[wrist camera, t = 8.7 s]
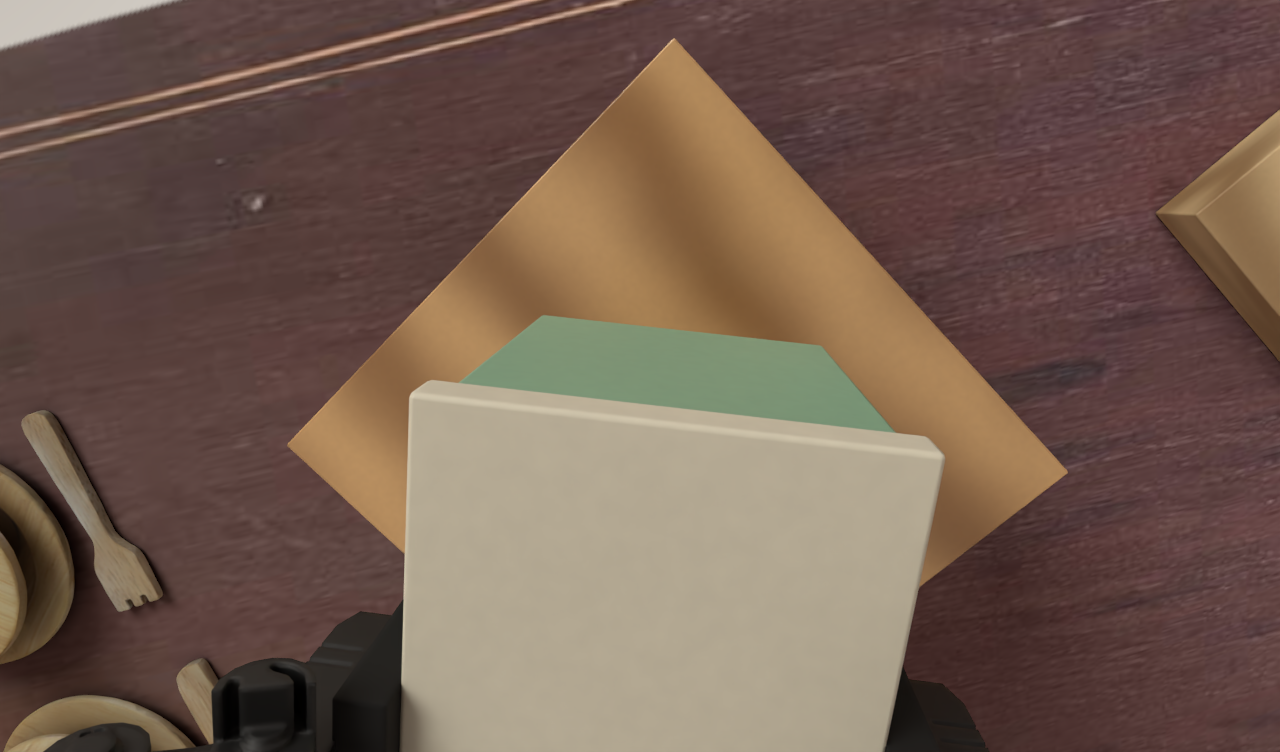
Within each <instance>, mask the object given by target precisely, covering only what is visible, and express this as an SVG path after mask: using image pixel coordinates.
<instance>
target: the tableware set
mask: <svg viewBox="0 0 1280 752" xmlns="http://www.w3.org/2000/svg"><path fill="white" fill-rule="evenodd" d="M21 425H22V429H23V431H24V434H25V435H26V437H27V438H28V440H29V442H30V443H31V445H32V447H33V448H34V450H35V451H36V453H37V455H38V456H39V458H40V459H41V461H42V463H43V464H44V466H45V467H46V469H47V471H48V472H49V474H50V476H51V477H52V479H53V481H54V482H55V484H56V485H57V487H58V488H59V490H60V491H61V493H62V494H63V496H64V498H65V499H66V501H67V502H68V504H69V505H70V507H71V508H72V510H73V512H74V513H75V515H76V516H77V518H78V519H79V521H80V523H81V524H82V525H83V527H84V528H85V530H86V531H87V533H88V534H89V536H90V537H91V539H92V541H93V545H94V549H95V558H94V568H95V572H96V574H97V576H98V578H99V580H100V582H101V584H102V586H103V587H104V589H105V591H106V593H107V595H108V596H109V598H110V599H111V601H112V603H113V604H114V606H115V607H116V609H117V611H118V612H121V611H124V610H128V609H130V608H131V607H132V606H133V604H134V605H135V606H140V605H143V604H144V603H146V601H147V599H146V597H145V595H146V596H147V598H148V600H149V601H150V602H152V601H155V600H158V599H159V598H161V597H162V596H163V592H162V590H161V588H160V585H159V583H158V581H157V580H156V578H155V576H154V574H153V572H152V570H151V568H150V566H149V564H148V562H147V560H146V558H145V556H144V554H143V553H142V552H141V551H140V549H138V548H137V547H136V546H134V545H132V544H130V543H129V542H127V541H126V540H124V539H123V538H121V537H120V536H119V535H118V534H117V532H116V531H115V530H114V528H113V526H112V524H111V522H110V520H109V518H108V516H107V514H106V512H105V510H104V508H103V505H102V503H101V502H100V500H99V498H98V496H97V494H96V492H95V490H94V489H93V487H92V485H91V483H90V481H89V479H88V477H87V475H86V473H85V471H84V469H83V467H82V465H81V463H80V461H79V459H78V457H77V456H76V454H75V452H74V450H73V448H72V446H71V444H70V443H69V441H68V439H67V437H66V435H65V433H64V432H63V430H62V428H61V426H60V424H59V422H58V421H57V419H56V418H55V417H54V415H53V414H52V413H50V412H48V411H45V410H41V411H37V412H34V413H32V414H29V415H27V416H26V417H25V418H24V419H23V420H22V423H21ZM74 586H75V581H74V566H73V561H72V556H71V551H70V548H69V544H68V541H67V539H66V536H65V534H64V532H63V530H62V528H61V526H60V524H59V523H58V521H57V519H56V518H55V516H54V515H53V513H52V512H51V511H50V509H49V508H48V507H47V505H46V504H45V502H44V501H43V500H42V499H41V498H40V497H39V495H38V494H37V493H36V492H35V491H34V490H33V489H32V488H31V487H30V486H29V485H28V484H27V483H26V482H24V481H23V480H22V479H21V478H20V477H18V476H17V475H16V474H15V473H13V472H12V471H11V470H9V469H7V468H6V467H4V466H2V465H0V664H3V663H7V662H11V661H14V660H17V659H21V658H23V657H25V656H27V655H29V654H31V653H33V652H34V651H36V650H38V649H39V648H41V647H42V646H43V645H45V644H46V643H47V642H48V641H49V640H50V639H51V638H52V637H53V636H54V635H55V634H56V632H57V631H58V630H59V629H60V627H61V626H62V624H63V623H64V621H65V619H66V617H67V615H68V612H69V610H70V607H71V604H72V600H73V596H74ZM131 600H132V601H131ZM132 602H133V604H132ZM218 681H219V680H218V679H217V677H216V675H215V673H214V672H213V670H212V669H211V667H210V665H209V663H208V662H207V661H206V660H205V659H204V658H200V659H197V660H194V661H192V662H190V663H189V664H187V665H186V666H185V667H184V668H183V669H182V670H181V671H180V672H179V674H178V676H177V684H178V688H179V690H180V693H181V695H182V697H183V699H184V701H185V703H186V705H187V707H188V708H189V710H190V712H191V714H192V716H193V717H194V719H195V721H196V722H197V724H198V726H199V727H200V729H201V731H202V732H203V734H204V736H205V737H206V739H207V741H208V743H209V744H213V723H212V699H211V691H212V689H213V688H214V687H215V685H216V684H217V682H218ZM121 722H124V723H128V724H133V725H138V726H140V727H142V728H143V729H144V730H145V731H147V732H148V733H149V735H150V742H151V752H154V751H163V750H173V749H183V748H192V747H196V746H195V745H194V744H193V743H192V742H191V741H190V740H189V739H188V737H187V736H185V735H184V734H183V733H182V732H181V731H180V730H179V729H177V728H176V727H175V726H174V725H172V724H171V723H170V722H169V721H167V720H166V719H164V718H163V717H161V716H160V715H158V714H156V713H154V712H152V711H150V710H148V709H146V708H144V707H142V706H140V705H138V704H135V703H131V702H128V701H125V700H121V699H118V698H113V697H106V696H96V695H80V696H73V697H67V698H64V699H60V700H57V701H54V702H51V703H49V704H47V705H45V706H43V707H41V708H39V709H38V710H36V711H35V712H33V713H32V714H30V715H29V716H28V717H27V718H25V719H24V720H23V721H22V722H21V723H20V724H19V725H18V727H17V728H16V729H15V730H14V732H13V733H12V735H11V736H10V738H9V740H8V742H7V744H6V746H5V749H4V752H43V751H45V750H46V749H47V748H49V747H50V746H51V745H53V744H54V743H55V742H56V741H58V740H60V739H62V738H64V737H66V736H68V735H70V734H72V733H74V732H76V731H78V730H81V729H85V728H89V727H92V726H96V725H100V724H107V723H121Z"/></svg>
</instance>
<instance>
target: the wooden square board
mask: <svg viewBox="0 0 1280 752" xmlns="http://www.w3.org/2000/svg"><path fill="white" fill-rule="evenodd" d="M1156 215H1157V216H1158V217H1159V218H1160V219H1161V221H1162V222H1163V223H1164V224H1165V225H1166V227H1167V228H1168V229H1169V230H1170V231H1171V233H1172V234H1173V235H1174V236H1175V237H1176V239H1177V240H1178V241H1179V242H1180V243H1181V245H1182V246H1183V247H1184V248H1185V249H1186V250H1187V252H1188V253H1189V254H1190V255H1191V256H1192V258H1193V259H1194V260H1195V261H1196V262H1197V264H1198V265H1199V266H1200V267H1201V268H1202V270H1203V271H1204V272H1205V273H1206V274H1207V276H1208V277H1209V278H1210V279H1211V280H1212V282H1213V283H1214V284H1215V285H1216V286H1217V287H1218V289H1219V290H1220V291H1221V292H1222V293H1223V295H1224V296H1225V297H1226V298H1227V299H1228V301H1229V302H1230V303H1231V304H1232V305H1233V307H1234V308H1235V309H1236V310H1237V311H1238V313H1239V314H1240V315H1241V316H1242V317H1243V319H1244V320H1245V321H1246V322H1247V323H1248V325H1249V326H1250V327H1251V328H1252V329H1253V330H1254V332H1255V333H1256V334H1257V335H1258V336H1259V338H1260V339H1261V340H1262V341H1263V342H1264V344H1265V345H1266V346H1267V347H1268V348H1269V350H1270V351H1271V352H1272V353H1273V354H1274V356H1275V357H1276V358H1277V359H1278V360H1279V362H1280V110H1279V111H1277V112H1276V113H1275V114H1274V115H1273V116H1271V117H1270V118H1269V119H1268V120H1267V121H1265V122H1264V123H1263V124H1262V125H1261V126H1259V127H1258V128H1257V129H1256V130H1254V131H1253V132H1252V133H1251V134H1250V135H1248V136H1247V137H1246V138H1245V139H1244V140H1242V141H1241V142H1240V143H1239V144H1238V145H1236V146H1235V147H1234V148H1233V149H1232V150H1230V151H1229V152H1228V153H1227V154H1226V155H1224V156H1223V157H1222V158H1221V159H1220V160H1218V161H1217V162H1216V163H1215V164H1214V165H1212V166H1211V167H1210V168H1209V169H1208V170H1206V171H1205V172H1204V173H1203V174H1202V175H1200V176H1199V177H1198V178H1197V179H1196V180H1194V181H1193V182H1192V183H1191V184H1190V185H1188V186H1187V187H1186V188H1185V189H1184V190H1182V191H1181V192H1180V193H1179V194H1178V195H1176V196H1175V197H1174V198H1173V199H1171V200H1170V201H1169V202H1168V203H1167V204H1165V205H1164V206H1163V207H1162V208H1161V209H1159V210H1158V211H1157V212H1156Z"/></svg>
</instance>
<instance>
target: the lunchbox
mask: <svg viewBox="0 0 1280 752" xmlns="http://www.w3.org/2000/svg"><path fill="white" fill-rule="evenodd" d="M944 464H945V455H944V453H943V452H942V451H941V450H940V449H939V448H938V447H937V446H936V445H935V444H934V443H933V442H932V441H931V440H930V439H929V438H927V437H925V436H918V435H909V434H900V433H896V432H895V431H894V430H893V428H892V427H891V426H890V425H889V424H888V423H887V421H886V420H885V419H884V418H883V417H882V416H881V414H880V413H879V412H878V411H877V410H876V409H875V407H874V406H873V405H872V404H871V403H870V402H869V400H868V399H867V398H866V397H865V396H864V395H863V393H862V392H861V391H860V390H859V389H858V388H857V386H856V385H855V384H854V383H853V382H852V381H851V379H850V378H849V377H848V376H847V375H846V374H845V372H844V371H843V370H842V369H841V368H840V367H839V365H838V364H837V363H836V362H835V361H834V360H833V358H832V357H831V356H830V355H829V354H828V353H827V351H826V350H825V349H824V348H823V347H822V346H820V345H811V344H802V343H793V342H784V341H775V340H766V339H757V338H747V337H738V336H729V335H720V334H711V333H702V332H693V331H684V330H675V329H666V328H657V327H647V326H638V325H629V324H620V323H611V322H602V321H593V320H584V319H575V318H566V317H557V316H547V315H543V316H541V317H540V318H538V319H537V320H536V321H535V322H533V323H532V324H531V325H530V326H528V327H527V328H526V329H525V330H524V331H522V332H521V333H520V334H519V335H517V336H516V337H515V338H514V339H512V340H511V341H510V342H509V343H507V344H506V345H505V346H504V347H502V348H501V349H500V350H499V351H497V352H496V353H495V354H494V355H492V356H491V357H490V358H489V359H487V360H486V361H485V362H484V363H482V364H481V365H480V366H479V367H477V368H476V369H475V370H474V371H473V372H471V373H470V374H469V375H468V376H466V377H465V378H464V379H463V380H461V381H460V382H459V383H454V382H446V381H437V380H431V381H427V382H426V383H424V384H423V385H422V386H420V387H419V388H417V389H416V390H414V391H413V392H412V393H411V395H410V397H409V424H408V460H407V496H406V531H405V567H404V603H403V638H402V674H401V715H400V750H399V752H885V748H886V744H887V739H888V734H889V729H890V725H891V720H892V715H893V710H894V705H895V700H896V696H897V691H898V686H899V681H900V676H901V671H902V667H903V662H904V657H905V652H906V647H907V642H908V638H909V633H910V628H911V623H912V618H913V613H914V609H915V604H916V599H917V594H918V589H919V584H920V580H921V575H922V570H923V565H924V560H925V555H926V551H927V546H928V541H929V536H930V531H931V526H932V522H933V517H934V512H935V507H936V502H937V497H938V493H939V488H940V483H941V478H942V473H943V468H944Z"/></svg>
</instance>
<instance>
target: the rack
mask: <svg viewBox="0 0 1280 752" xmlns="http://www.w3.org/2000/svg"><path fill="white" fill-rule="evenodd" d="M543 315H547V316H557V317H566V318H575V319H584V320H593V321H602V322H611V323H620V324H629V325H638V326H647V327H657V328H666V329H675V330H684V331H693V332H702V333H711V334H720V335H729V336H738V337H747V338H757V339H766V340H775V341H784V342H793V343H802V344H811V345H820V346H822V347H823V348H824V349H825V350H826V351H827V353H828V354H829V355H830V356H831V357H832V358H833V360H834V361H835V362H836V363H837V364H838V365H839V367H840V368H841V369H842V370H843V371H844V372H845V374H846V375H847V376H848V377H849V378H850V379H851V381H852V382H853V383H854V384H855V385H856V386H857V388H858V389H859V390H860V391H861V392H862V393H863V395H864V396H865V397H866V398H867V399H868V400H869V402H870V403H871V404H872V405H873V406H874V407H875V409H876V410H877V411H878V412H879V413H880V414H881V416H882V417H883V418H884V419H885V420H886V421H887V423H888V424H889V425H890V426H891V427H892V428H893V430H894V431H895V432H896V433H900V434H909V435H918V436H925V437H927V438H929V439H930V440H931V441H932V442H933V443H934V444H935V445H936V446H937V447H938V448H939V449H940V450H941V451H942V452H943V453H944V455H945V464H944V468H943V473H942V478H941V483H940V488H939V493H938V497H937V502H936V507H935V512H934V517H933V522H932V526H931V531H930V536H929V541H928V546H927V551H926V555H925V560H924V565H923V570H922V575H921V580H920V584H919V587H920V586H922V585H923V584H924V583H926V582H927V581H928V580H929V579H931V578H932V577H933V576H935V575H936V574H937V573H939V572H940V571H941V570H942V569H944V568H945V567H946V566H948V565H949V564H950V563H952V562H953V561H954V560H955V559H957V558H958V557H959V556H961V555H962V554H963V553H965V552H966V551H967V550H968V549H970V548H971V547H972V546H974V545H975V544H976V543H978V542H979V541H980V540H981V539H983V538H984V537H985V536H987V535H988V534H989V533H991V532H992V531H993V530H994V529H996V528H997V527H998V526H1000V525H1001V524H1002V523H1004V522H1005V521H1006V520H1007V519H1009V518H1010V517H1011V516H1013V515H1014V514H1015V513H1017V512H1018V511H1019V510H1020V509H1022V508H1023V507H1024V506H1026V505H1027V504H1028V503H1030V502H1031V501H1032V500H1033V499H1035V498H1036V497H1037V496H1039V495H1040V494H1041V493H1043V492H1044V491H1045V490H1046V489H1048V488H1049V487H1050V486H1052V485H1053V484H1054V483H1056V482H1057V481H1058V480H1059V479H1061V478H1062V477H1063V476H1065V475H1066V474H1067V473H1068V471H1067V470H1066V469H1065V468H1064V467H1063V465H1062V464H1061V463H1060V462H1059V461H1058V460H1057V459H1056V458H1055V457H1054V455H1053V454H1052V453H1051V452H1050V451H1049V450H1048V449H1047V448H1046V447H1045V446H1044V444H1043V443H1042V442H1041V441H1040V440H1039V439H1038V438H1037V437H1036V436H1035V435H1034V433H1033V432H1032V431H1031V430H1030V429H1029V428H1028V427H1027V426H1026V425H1025V424H1024V422H1023V421H1022V420H1021V419H1020V418H1019V417H1018V416H1017V415H1016V414H1015V413H1014V411H1013V410H1012V409H1011V408H1010V407H1009V406H1008V405H1007V404H1006V403H1005V402H1004V400H1003V399H1002V398H1001V397H1000V396H999V395H998V394H997V393H996V392H995V391H994V389H993V388H992V387H991V386H990V385H989V384H988V383H987V382H986V381H985V379H984V378H983V377H982V376H981V375H980V374H979V373H978V372H977V371H976V370H975V368H974V367H973V366H972V365H971V364H970V363H969V362H968V361H967V360H966V359H965V357H964V356H963V355H962V354H961V353H960V352H959V351H958V350H957V349H956V348H955V346H954V345H953V344H952V343H951V342H950V341H949V340H948V339H947V338H946V337H945V335H944V334H943V333H942V332H941V331H940V330H939V329H938V328H937V327H936V326H935V324H934V323H933V322H932V321H931V320H930V319H929V318H928V317H927V316H926V315H925V313H924V312H923V311H922V310H921V309H920V308H919V307H918V306H917V305H916V303H915V302H914V301H913V300H912V299H911V298H910V297H909V296H908V295H907V294H906V292H905V291H904V290H903V289H902V288H901V287H900V286H899V285H898V284H897V283H896V281H895V280H894V279H893V278H892V277H891V276H890V275H889V274H888V273H887V272H886V270H885V269H884V268H883V267H882V266H881V265H880V264H879V263H878V262H877V261H876V259H875V258H874V257H873V256H872V255H871V254H870V253H869V252H868V251H867V250H866V248H865V247H864V246H863V245H862V244H861V243H860V242H859V241H858V240H857V238H856V237H855V236H854V235H853V234H852V233H851V232H850V231H849V230H848V229H847V227H846V226H845V225H844V224H843V223H842V222H841V221H840V220H839V219H838V218H837V216H836V215H835V214H834V213H833V212H832V211H831V210H830V209H829V208H828V207H827V205H826V204H825V203H824V202H823V201H822V200H821V199H820V198H819V197H818V196H817V194H816V193H815V192H814V191H813V190H812V189H811V188H810V187H809V186H808V185H807V183H806V182H805V181H804V180H803V179H802V178H801V177H800V176H799V175H798V174H797V172H796V171H795V170H794V169H793V168H792V167H791V166H790V165H789V164H788V162H787V161H786V160H785V159H784V158H783V157H782V156H781V155H780V154H779V153H778V151H777V150H776V149H775V148H774V147H773V146H772V145H771V144H770V143H769V142H768V140H767V139H766V138H765V137H764V136H763V135H762V134H761V133H760V132H759V131H758V129H757V128H756V127H755V126H754V125H753V124H752V123H751V122H750V121H749V120H748V118H747V117H746V116H745V115H744V114H743V113H742V112H741V111H740V110H739V109H738V107H737V106H736V105H735V104H734V103H733V102H732V101H731V100H730V99H729V98H728V96H727V95H726V94H725V93H724V92H723V91H722V90H721V89H720V88H719V86H718V85H717V84H716V83H715V82H714V81H713V80H712V79H711V78H710V77H709V75H708V74H707V73H706V72H705V71H704V70H703V69H702V68H701V67H700V66H699V64H698V63H697V62H696V61H695V60H694V59H693V58H692V57H691V56H690V55H689V53H688V52H687V51H686V50H685V49H684V48H683V47H682V46H681V45H680V44H679V42H678V41H677V40H676V39H672V40H671V41H670V42H669V43H668V44H667V45H666V47H665V48H664V49H663V50H662V51H661V52H660V53H659V54H658V55H657V56H656V57H655V58H654V59H653V60H652V61H651V62H650V63H649V64H648V65H647V67H646V68H645V69H644V70H643V71H642V72H641V73H640V74H639V75H638V76H637V77H636V78H635V79H634V80H633V81H632V82H631V83H630V84H629V85H628V86H627V88H626V89H625V90H624V91H623V92H622V93H621V94H620V95H619V96H618V97H617V98H616V99H615V100H614V101H613V102H612V103H611V104H610V105H609V106H608V108H607V109H606V110H605V111H604V112H603V113H602V114H601V115H600V116H599V117H598V118H597V119H596V120H595V121H594V122H593V123H592V124H591V125H590V126H589V128H588V129H587V130H586V131H585V132H584V133H583V134H582V135H581V136H580V137H579V138H578V139H577V140H576V141H575V142H574V143H573V144H572V145H571V146H570V147H569V149H568V150H567V151H566V152H565V153H564V154H563V155H562V156H561V157H560V158H559V159H558V160H557V161H556V162H555V163H554V164H553V165H552V166H551V167H550V169H549V170H548V171H547V172H546V173H545V174H544V175H543V176H542V177H541V178H540V179H539V180H538V181H537V182H536V183H535V184H534V185H533V186H532V187H531V189H530V190H529V191H528V192H527V193H526V194H525V195H524V196H523V197H522V198H521V199H520V200H519V201H518V202H517V203H516V204H515V205H514V206H513V207H512V209H511V210H510V211H509V212H508V213H507V214H506V215H505V216H504V217H503V218H502V219H501V220H500V221H499V222H498V223H497V224H496V225H495V226H494V227H493V228H492V230H491V231H490V232H489V233H488V234H487V235H486V236H485V237H484V238H483V239H482V240H481V241H480V242H479V243H478V244H477V245H476V246H475V247H474V248H473V250H472V251H471V252H470V253H469V254H468V255H467V256H466V257H465V258H464V259H463V260H462V261H461V262H460V263H459V264H458V265H457V266H456V267H455V268H454V270H453V271H452V272H451V273H450V274H449V275H448V276H447V277H446V278H445V279H444V280H443V281H442V282H441V283H440V284H439V285H438V286H437V287H436V288H435V289H434V291H433V292H432V293H431V294H430V295H429V296H428V297H427V298H426V299H425V300H424V301H423V302H422V303H421V304H420V305H419V306H418V307H417V308H416V309H415V311H414V312H413V313H412V314H411V315H410V316H409V317H408V318H407V319H406V320H405V321H404V322H403V323H402V324H401V325H400V326H399V327H398V328H397V329H396V331H395V332H394V333H393V334H392V335H391V336H390V337H389V338H388V339H387V340H386V341H385V342H384V343H383V344H382V345H381V346H380V347H379V348H378V349H377V351H376V352H375V353H374V354H373V355H372V356H371V357H370V358H369V359H368V360H367V361H366V362H365V363H364V364H363V365H362V366H361V367H360V368H359V369H358V370H357V372H356V373H355V374H354V375H353V376H352V377H351V378H350V379H349V380H348V381H347V382H346V383H345V384H344V385H343V386H342V387H341V388H340V389H339V390H338V392H337V393H336V394H335V395H334V396H333V397H332V398H331V399H330V400H329V401H328V402H327V403H326V404H325V405H324V406H323V407H322V408H321V409H320V410H319V412H318V413H317V414H316V415H315V416H314V417H313V418H312V419H311V420H310V421H309V422H308V423H307V424H306V425H305V426H304V427H303V428H302V429H301V430H300V431H299V433H298V434H297V435H296V436H295V437H294V438H293V439H292V440H291V441H290V442H289V443H288V445H287V446H288V447H289V448H290V449H292V450H293V451H294V452H295V453H296V454H297V455H298V456H299V457H300V458H301V459H302V460H303V461H305V462H306V463H307V464H308V465H309V466H310V467H311V468H312V469H313V470H314V471H315V472H316V473H317V474H319V475H320V476H321V477H322V478H323V479H324V480H325V481H326V482H327V483H328V484H329V485H330V486H332V487H333V488H334V489H335V490H336V491H337V492H338V493H339V494H340V495H341V496H342V497H343V498H345V499H346V500H347V501H348V502H349V503H350V504H351V505H352V506H353V507H354V508H355V509H356V510H358V511H359V512H360V513H361V514H362V515H363V516H364V517H365V518H366V519H367V520H368V521H369V522H370V523H372V524H373V525H374V526H375V527H376V528H377V529H378V530H379V531H380V532H381V533H382V534H383V535H385V536H386V537H387V538H388V539H389V540H390V541H391V542H392V543H393V544H394V545H395V546H396V547H398V548H399V549H400V550H401V551H402V552H403V553H404V554H405V531H406V496H407V460H408V424H409V397H410V395H411V393H412V392H413V391H414V390H416V389H417V388H419V387H420V386H422V385H423V384H424V383H426V382H427V381H431V380H437V381H446V382H454V383H459V382H460V381H461V380H463V379H464V378H465V377H466V376H468V375H469V374H470V373H471V372H473V371H474V370H475V369H476V368H477V367H479V366H480V365H481V364H482V363H484V362H485V361H486V360H487V359H489V358H490V357H491V356H492V355H494V354H495V353H496V352H497V351H499V350H500V349H501V348H502V347H504V346H505V345H506V344H507V343H509V342H510V341H511V340H512V339H514V338H515V337H516V336H517V335H519V334H520V333H521V332H522V331H524V330H525V329H526V328H527V327H528V326H530V325H531V324H532V323H533V322H535V321H536V320H537V319H538V318H540V317H541V316H543Z"/></svg>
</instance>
